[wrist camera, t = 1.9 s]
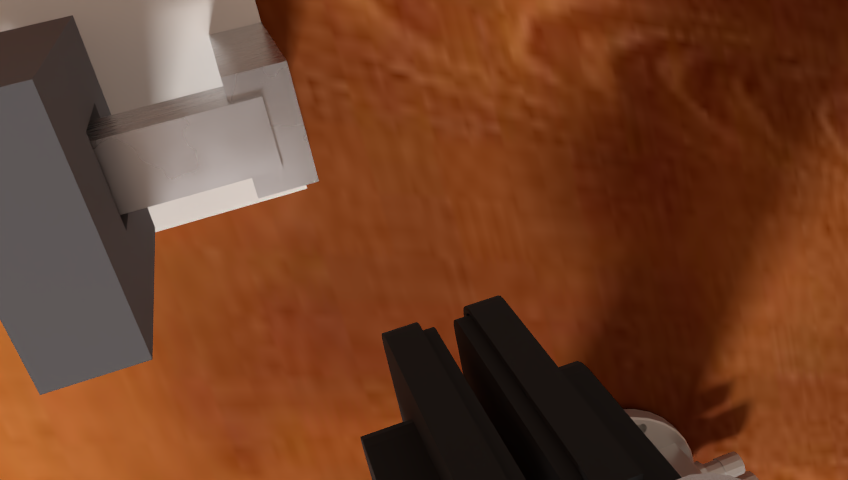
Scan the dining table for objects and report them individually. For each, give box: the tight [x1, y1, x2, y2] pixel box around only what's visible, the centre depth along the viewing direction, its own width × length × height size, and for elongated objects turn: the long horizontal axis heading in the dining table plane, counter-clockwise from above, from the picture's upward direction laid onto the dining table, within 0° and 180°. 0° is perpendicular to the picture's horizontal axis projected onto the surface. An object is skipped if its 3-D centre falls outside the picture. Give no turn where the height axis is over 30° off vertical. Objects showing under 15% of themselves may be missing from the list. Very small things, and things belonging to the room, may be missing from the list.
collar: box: [0, 15, 155, 395], centre depth 23 cm, size 3×8×9 cm, turn 11°
